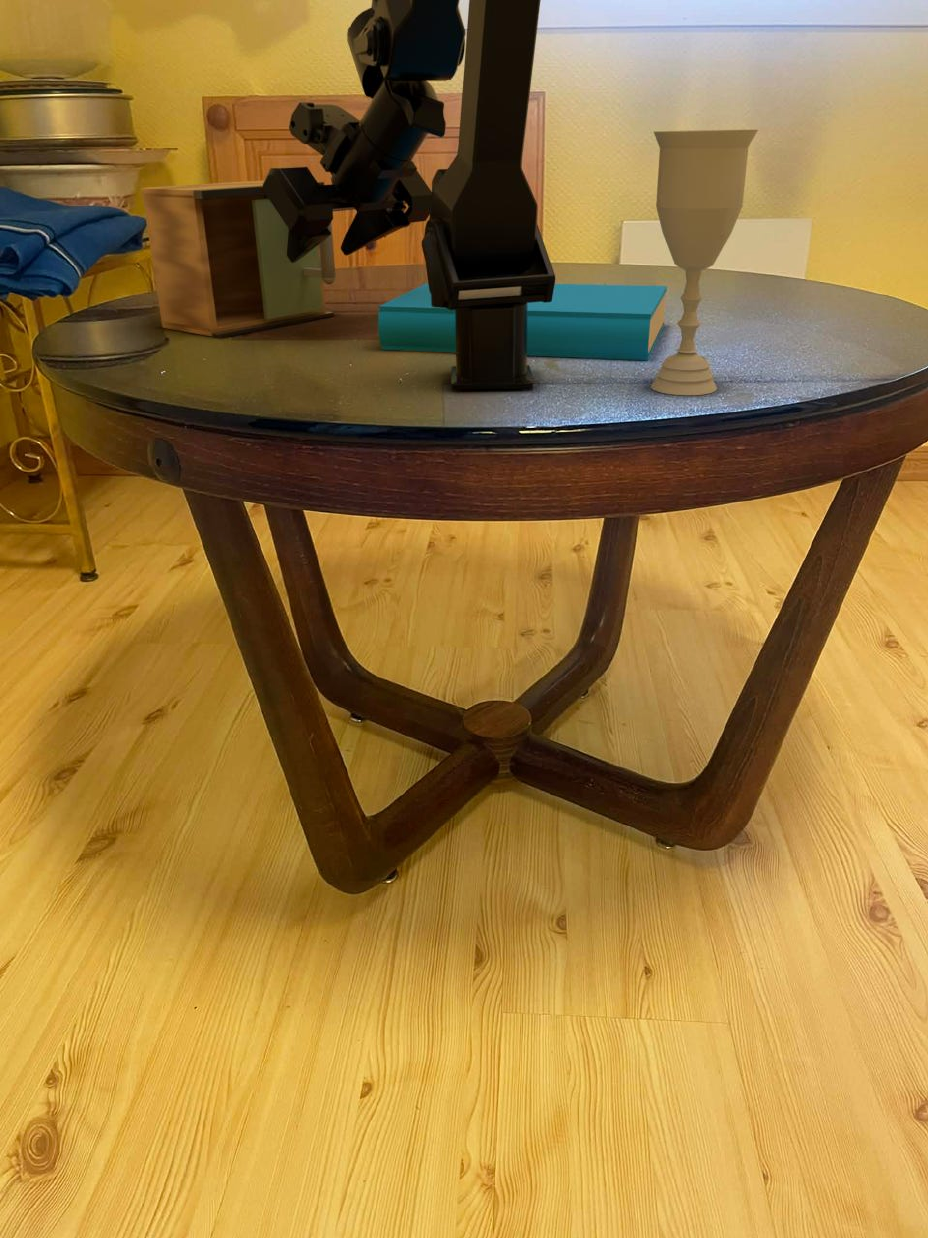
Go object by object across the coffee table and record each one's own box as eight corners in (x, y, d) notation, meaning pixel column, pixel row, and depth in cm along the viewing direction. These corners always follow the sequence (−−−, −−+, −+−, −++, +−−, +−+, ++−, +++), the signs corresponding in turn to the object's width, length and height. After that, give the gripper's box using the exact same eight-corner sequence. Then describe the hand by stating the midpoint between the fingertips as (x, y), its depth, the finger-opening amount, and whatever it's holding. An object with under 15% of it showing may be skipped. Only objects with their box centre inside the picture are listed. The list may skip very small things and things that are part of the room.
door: (349, 313, 105) (341, 195, 100) (294, 324, 99) (283, 200, 94) (319, 309, 108) (310, 194, 102) (264, 319, 102) (251, 199, 97)
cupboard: (334, 315, 108) (324, 181, 102) (220, 338, 98) (201, 190, 92) (276, 307, 114) (263, 179, 108) (162, 327, 103) (141, 187, 97)
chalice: (747, 386, 76) (776, 129, 68) (701, 403, 72) (727, 130, 64) (667, 372, 81) (685, 130, 73) (619, 388, 76) (633, 131, 68)
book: (428, 280, 104) (667, 281, 98) (430, 322, 106) (664, 325, 100) (375, 307, 89) (652, 310, 83) (378, 355, 91) (650, 361, 85)
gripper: (409, 72, 98) (341, 189, 109) (263, 66, 85) (203, 200, 96) (470, 159, 97) (395, 269, 108) (332, 166, 84) (263, 290, 95)
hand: (317, 255), depth 102 cm, fingers open, 7 cm apart
